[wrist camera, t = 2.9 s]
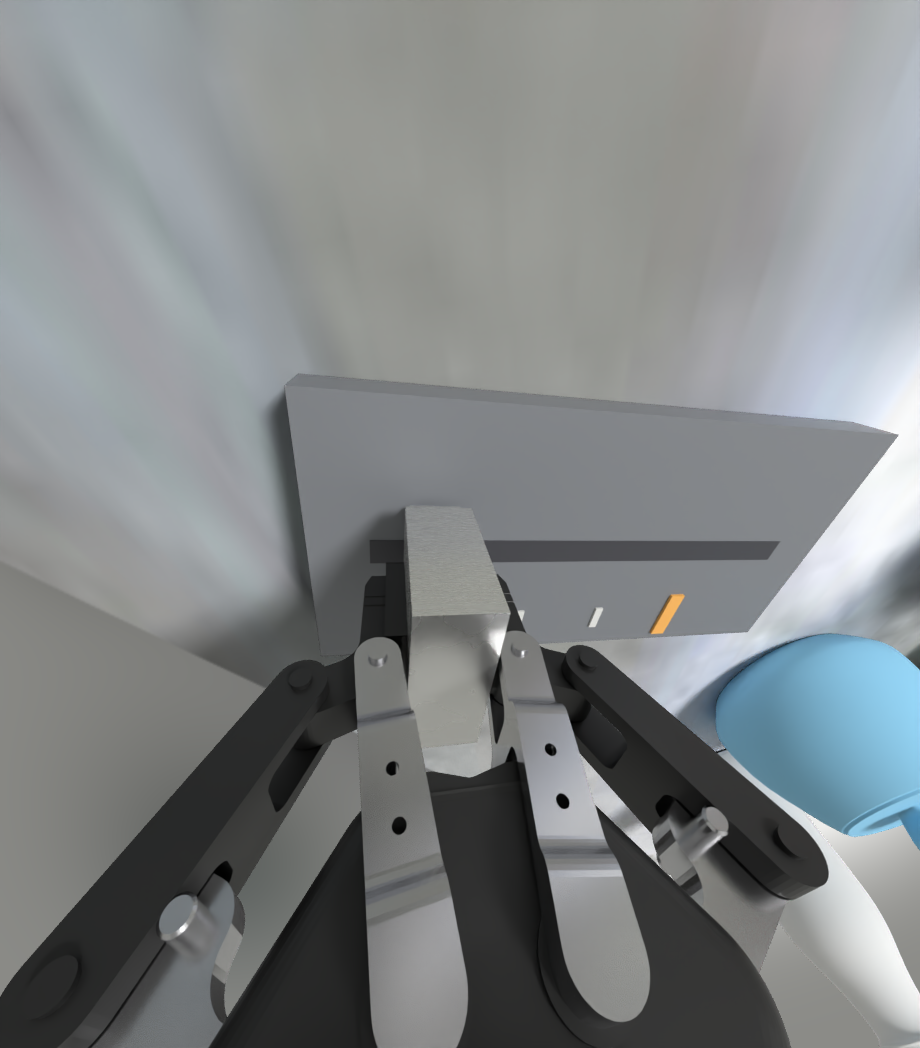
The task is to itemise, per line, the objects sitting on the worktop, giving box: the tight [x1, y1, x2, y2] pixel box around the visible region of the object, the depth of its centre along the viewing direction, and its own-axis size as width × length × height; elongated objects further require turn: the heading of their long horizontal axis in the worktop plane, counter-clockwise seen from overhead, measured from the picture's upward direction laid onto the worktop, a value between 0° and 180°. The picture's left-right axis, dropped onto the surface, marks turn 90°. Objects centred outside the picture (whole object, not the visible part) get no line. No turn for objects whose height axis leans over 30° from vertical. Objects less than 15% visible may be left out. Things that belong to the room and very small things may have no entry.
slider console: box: [284, 374, 898, 656], centre depth 18 cm, size 13×26×2 cm, turn 83°
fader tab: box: [403, 505, 511, 748], centre depth 13 cm, size 6×2×6 cm, turn 174°
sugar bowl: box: [716, 634, 920, 850], centre depth 27 cm, size 15×15×12 cm
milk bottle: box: [717, 750, 920, 1048], centre depth 32 cm, size 8×8×20 cm
